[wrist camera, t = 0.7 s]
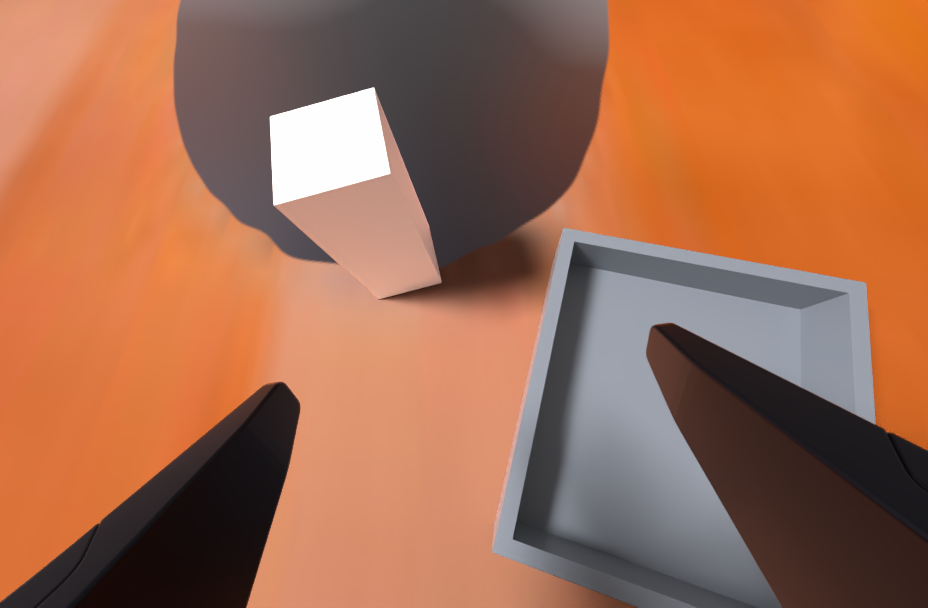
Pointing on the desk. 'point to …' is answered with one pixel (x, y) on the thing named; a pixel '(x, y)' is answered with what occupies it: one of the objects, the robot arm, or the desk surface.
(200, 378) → the desk surface
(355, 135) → the cream block
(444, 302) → the desk surface
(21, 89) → the desk surface
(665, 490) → the tray
